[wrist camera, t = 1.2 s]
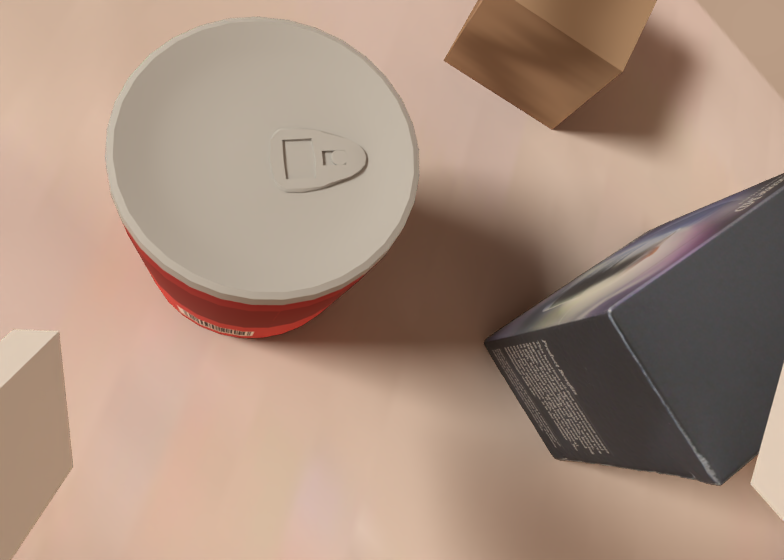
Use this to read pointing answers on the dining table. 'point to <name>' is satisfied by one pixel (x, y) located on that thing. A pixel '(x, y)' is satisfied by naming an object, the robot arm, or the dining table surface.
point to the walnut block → (548, 50)
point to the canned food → (260, 171)
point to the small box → (662, 345)
